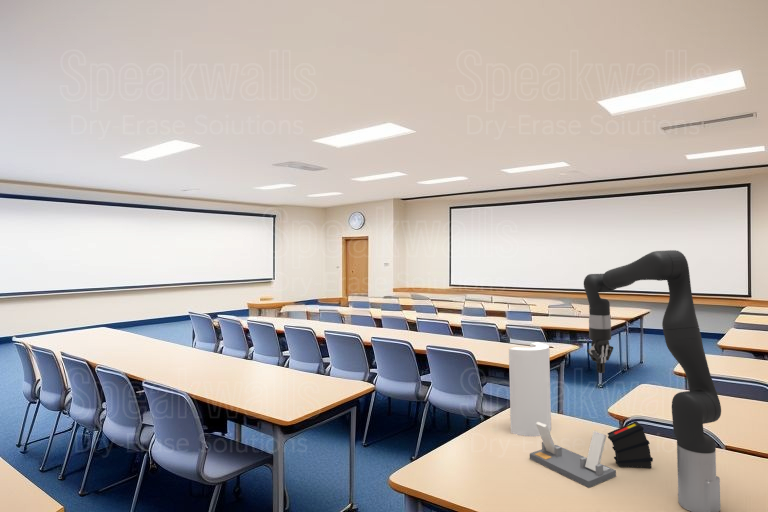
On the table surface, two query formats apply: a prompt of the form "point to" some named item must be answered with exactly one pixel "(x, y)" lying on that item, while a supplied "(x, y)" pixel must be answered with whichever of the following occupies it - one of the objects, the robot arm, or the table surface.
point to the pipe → (529, 388)
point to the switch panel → (572, 466)
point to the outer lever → (546, 437)
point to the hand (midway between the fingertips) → (600, 372)
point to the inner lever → (595, 450)
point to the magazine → (631, 446)
